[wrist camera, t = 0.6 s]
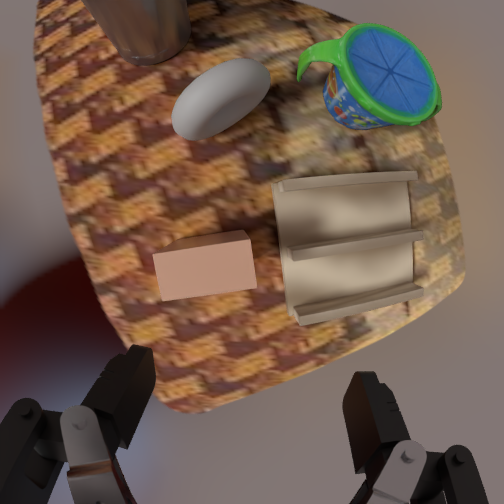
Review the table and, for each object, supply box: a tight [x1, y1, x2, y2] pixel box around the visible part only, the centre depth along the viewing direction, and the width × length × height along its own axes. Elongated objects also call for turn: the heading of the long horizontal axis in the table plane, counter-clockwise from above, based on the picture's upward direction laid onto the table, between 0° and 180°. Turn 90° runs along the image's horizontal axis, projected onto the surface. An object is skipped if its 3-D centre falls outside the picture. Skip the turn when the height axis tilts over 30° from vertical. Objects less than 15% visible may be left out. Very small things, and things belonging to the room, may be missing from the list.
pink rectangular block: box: [153, 230, 257, 301], centre depth 25 cm, size 4×7×10 cm, turn 98°
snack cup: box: [297, 23, 442, 130], centre depth 23 cm, size 16×10×10 cm
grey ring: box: [171, 58, 270, 140], centre depth 23 cm, size 10×3×10 cm, turn 126°
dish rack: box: [271, 171, 424, 326], centre depth 29 cm, size 14×16×4 cm
